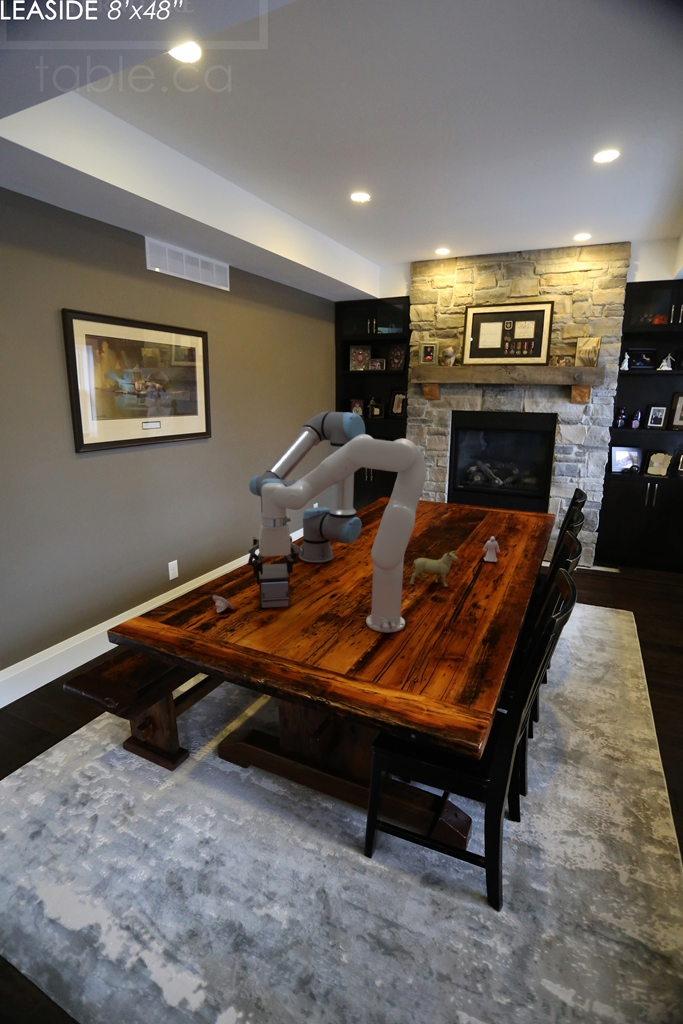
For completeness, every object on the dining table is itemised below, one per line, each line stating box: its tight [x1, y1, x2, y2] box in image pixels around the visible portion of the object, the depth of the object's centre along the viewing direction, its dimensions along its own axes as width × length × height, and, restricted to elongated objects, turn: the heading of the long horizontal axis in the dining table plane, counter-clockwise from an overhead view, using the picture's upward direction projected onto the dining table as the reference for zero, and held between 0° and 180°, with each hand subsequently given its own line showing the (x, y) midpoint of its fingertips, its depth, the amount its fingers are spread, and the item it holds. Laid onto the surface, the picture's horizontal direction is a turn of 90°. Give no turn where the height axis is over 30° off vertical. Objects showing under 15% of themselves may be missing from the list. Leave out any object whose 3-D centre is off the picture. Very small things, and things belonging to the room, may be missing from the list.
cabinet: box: [258, 563, 290, 608], centre depth 179 cm, size 14×10×11 cm
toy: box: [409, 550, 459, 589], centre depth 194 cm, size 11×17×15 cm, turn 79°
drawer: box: [261, 580, 290, 608], centre depth 173 cm, size 18×9×9 cm, turn 11°
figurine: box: [482, 535, 501, 563], centre depth 223 cm, size 8×8×12 cm
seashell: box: [212, 594, 235, 614], centre depth 169 cm, size 8×5×8 cm
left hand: (273, 582), depth 181 cm, fingers closed on cabinet, 10 cm apart
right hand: (275, 572), depth 165 cm, fingers open, 8 cm apart
